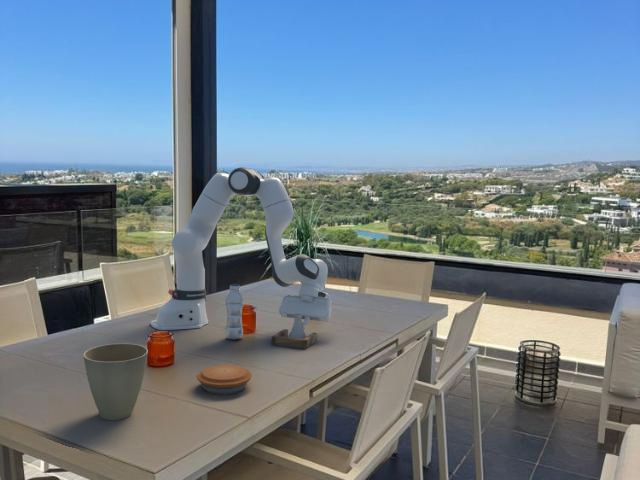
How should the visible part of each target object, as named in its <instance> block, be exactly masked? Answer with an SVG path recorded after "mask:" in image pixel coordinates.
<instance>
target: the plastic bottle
mask: <svg viewBox="0 0 640 480" xmlns="http://www.w3.org/2000/svg"><path fill="white" fill-rule="evenodd" d="M240 291H241V285H240V284H230V285H229V293H228V294H227V295H226V297H225V306H226V324H225V325H226V326H225V332H224V334H225V335H224V336H225V337H226V338H227V339H229V340H239V339H242V338H243V336H244V329H243V320H242V319H243V317H242V314H243V305H244V297H243V295H242V294H241V293H240Z"/></svg>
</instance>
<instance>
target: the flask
mask: <svg viewBox="0 0 640 480" xmlns="http://www.w3.org/2000/svg"><path fill="white" fill-rule="evenodd" d="M294 316H295V318H293V319H294V320H293V325H292V327H291V330H290V333H289V334H288V337H290V338H298V339H304V338H306V337H307V336H306V332H305V329H303V326H302V323H303V319H302V316H303V315H302V314H294Z"/></svg>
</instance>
